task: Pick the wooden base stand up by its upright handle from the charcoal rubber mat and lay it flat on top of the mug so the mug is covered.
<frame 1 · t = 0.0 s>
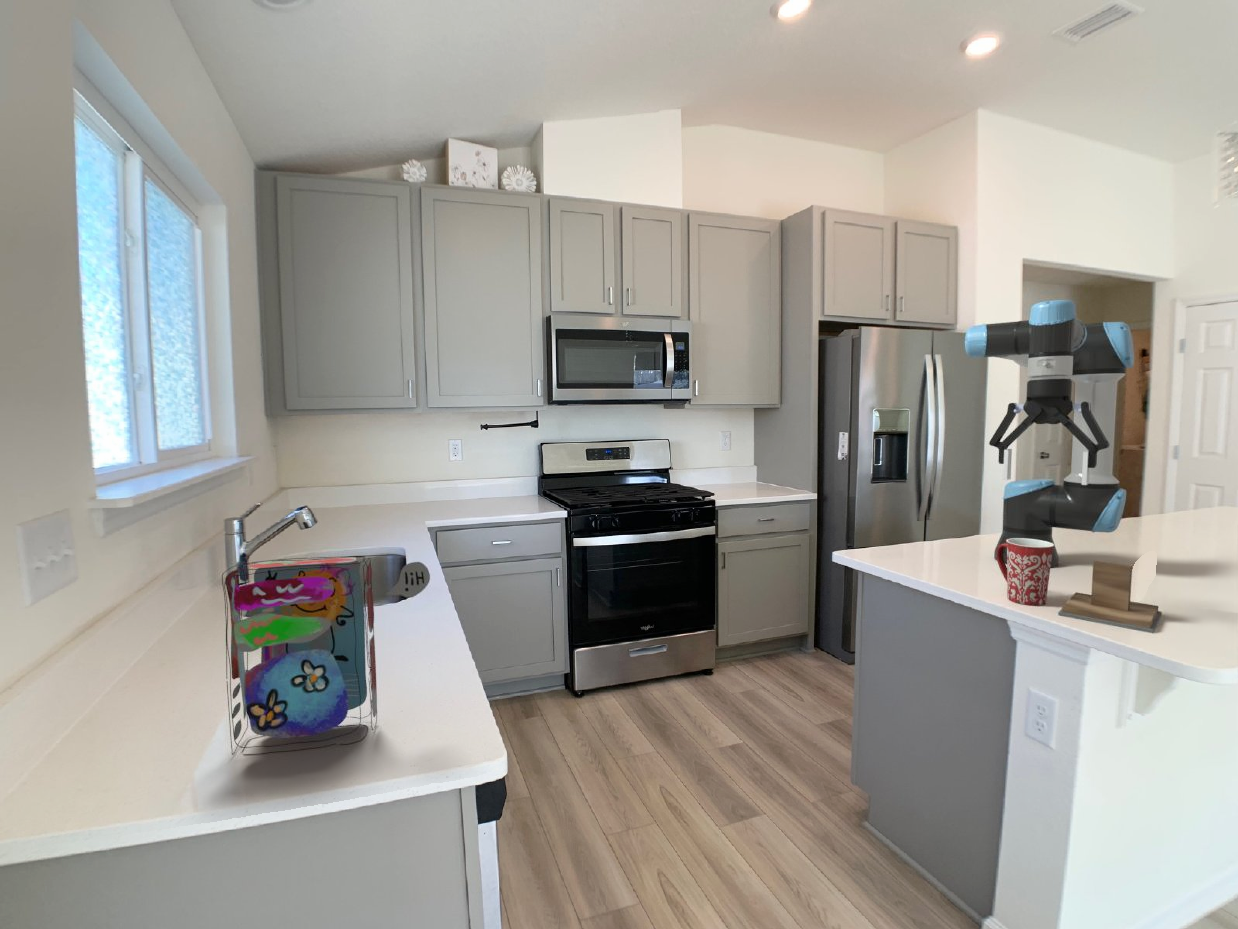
hand: (1044, 482, 126), 28 cm above the worktop, tool pointing down, fingers open, 13 cm apart
mug: (1020, 599, 139), on the worktop
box: (341, 735, 84), on the worktop
wooden base stand: (1109, 611, 127), point 1 cm above the worktop, touching mat
mat: (1109, 614, 127), on the worktop
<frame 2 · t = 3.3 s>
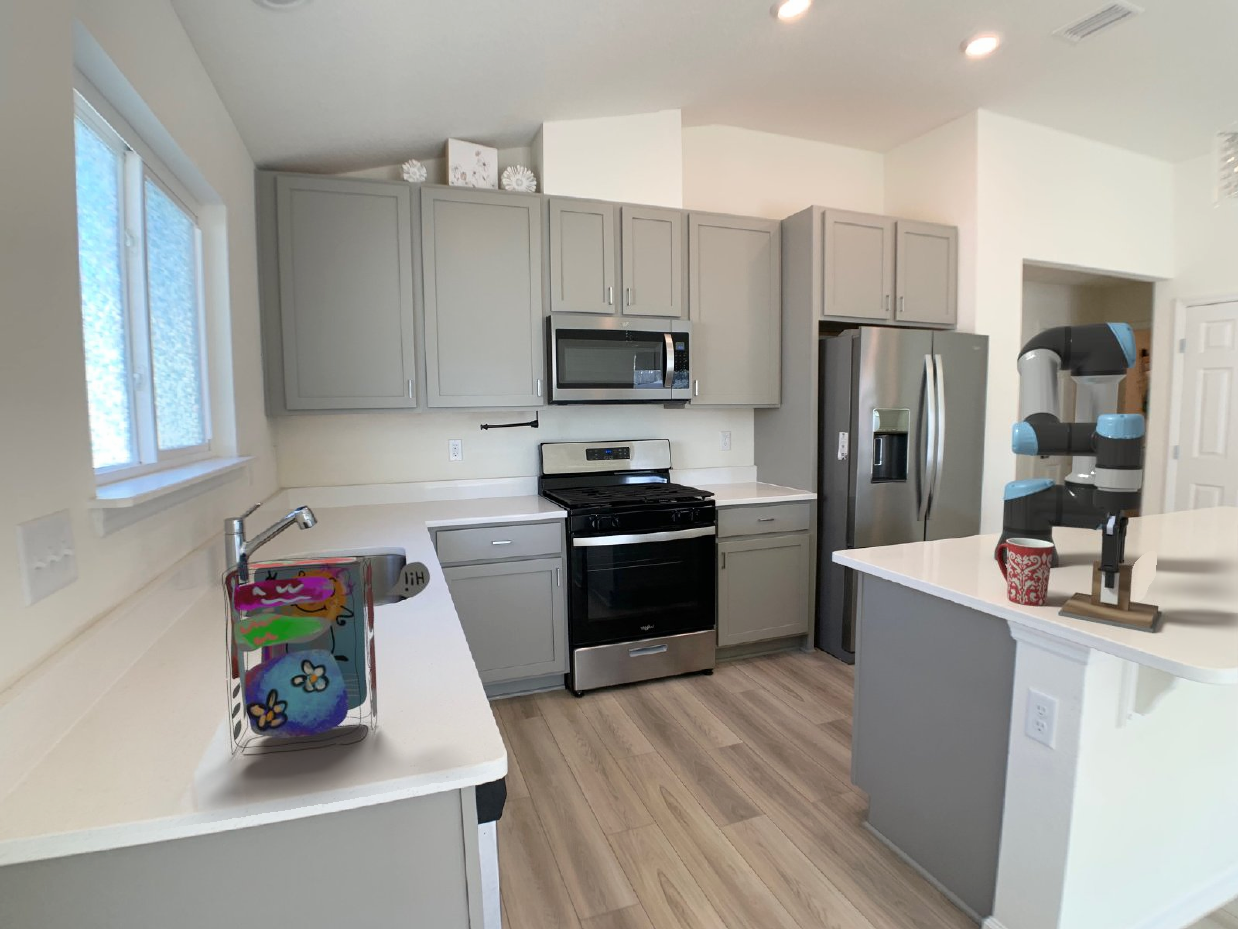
hand: (1110, 600, 127), 3 cm above the worktop, tool pointing down, fingers closed on wooden base stand, 3 cm apart
wooden base stand: (1109, 611, 127), point 1 cm above the worktop, touching gripper, mat
everything else where it was.
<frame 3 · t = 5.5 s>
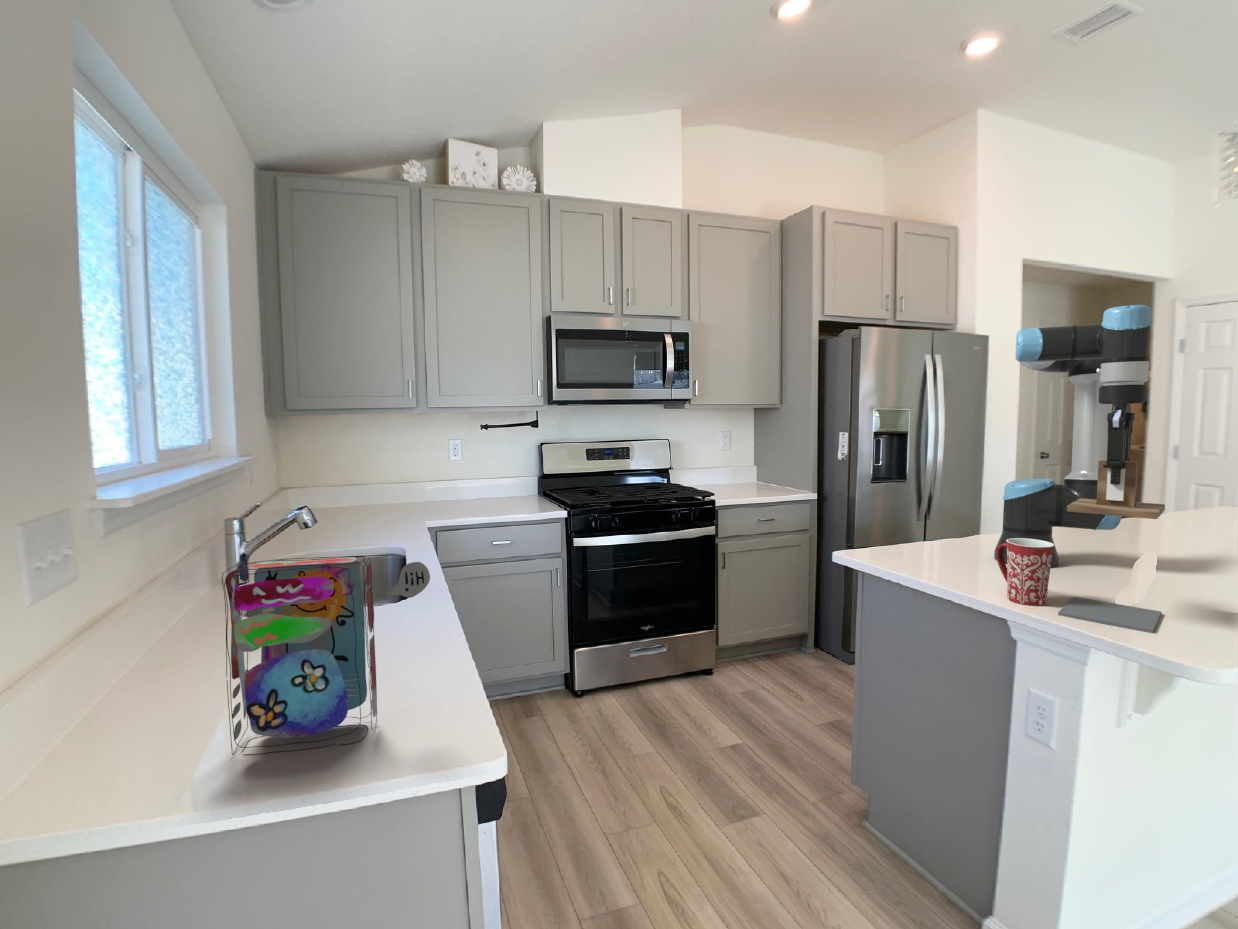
hand: (1116, 498, 125), 24 cm above the worktop, tool pointing down, fingers closed on wooden base stand, 3 cm apart
wooden base stand: (1115, 510, 126), point 22 cm above the worktop, touching gripper
everything else where it was.
when the fingers open (17 cm above the worktop, at t = 8.1 s): wooden base stand drops 1 cm, resting on mug.
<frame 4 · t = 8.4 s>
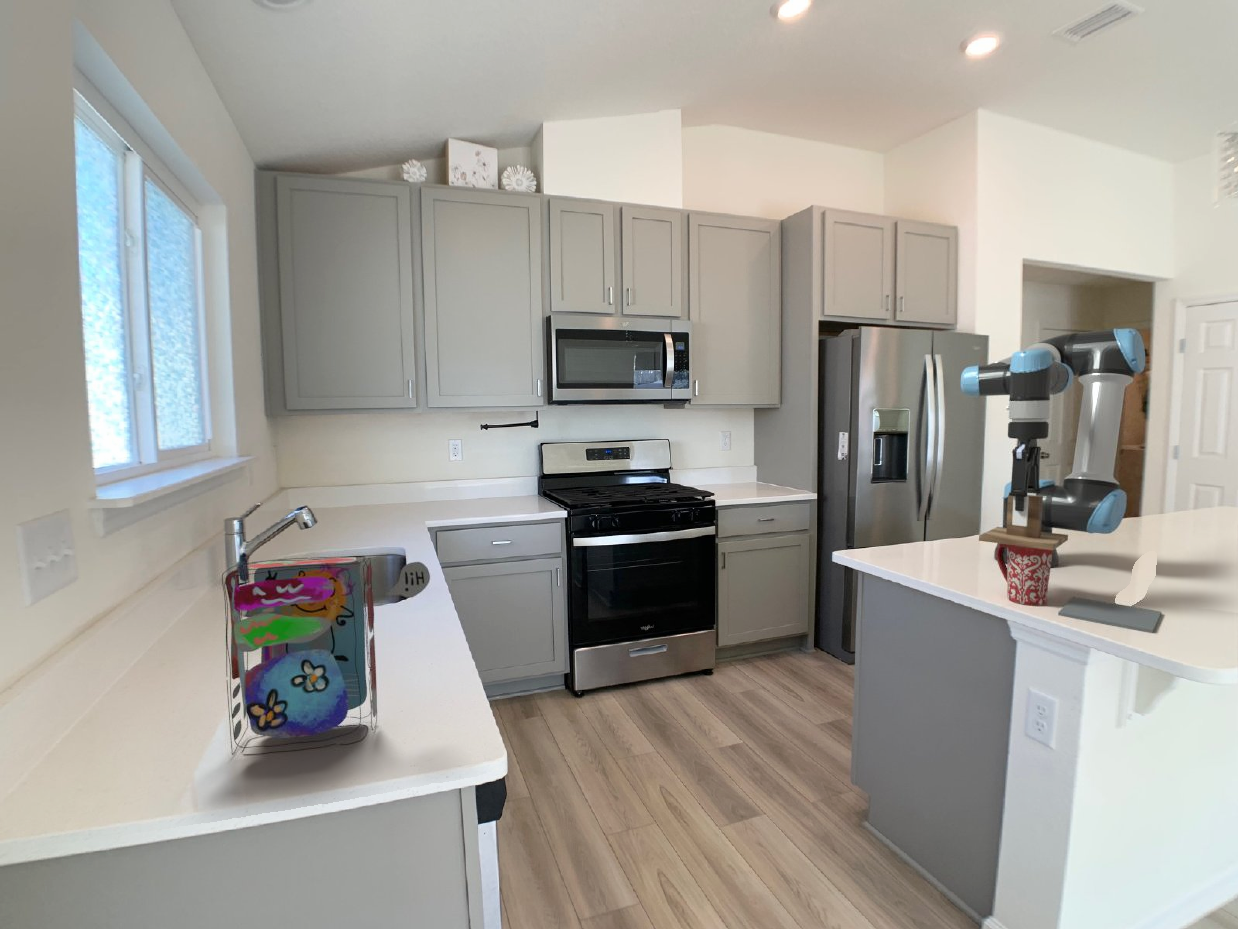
hand: (1023, 523, 137), 17 cm above the worktop, tool pointing down, fingers open, 6 cm apart
mug: (1020, 599, 139), on the worktop, touching wooden base stand
wooden base stand: (1023, 540, 138), point 13 cm above the worktop, touching mug
everything else where it was.
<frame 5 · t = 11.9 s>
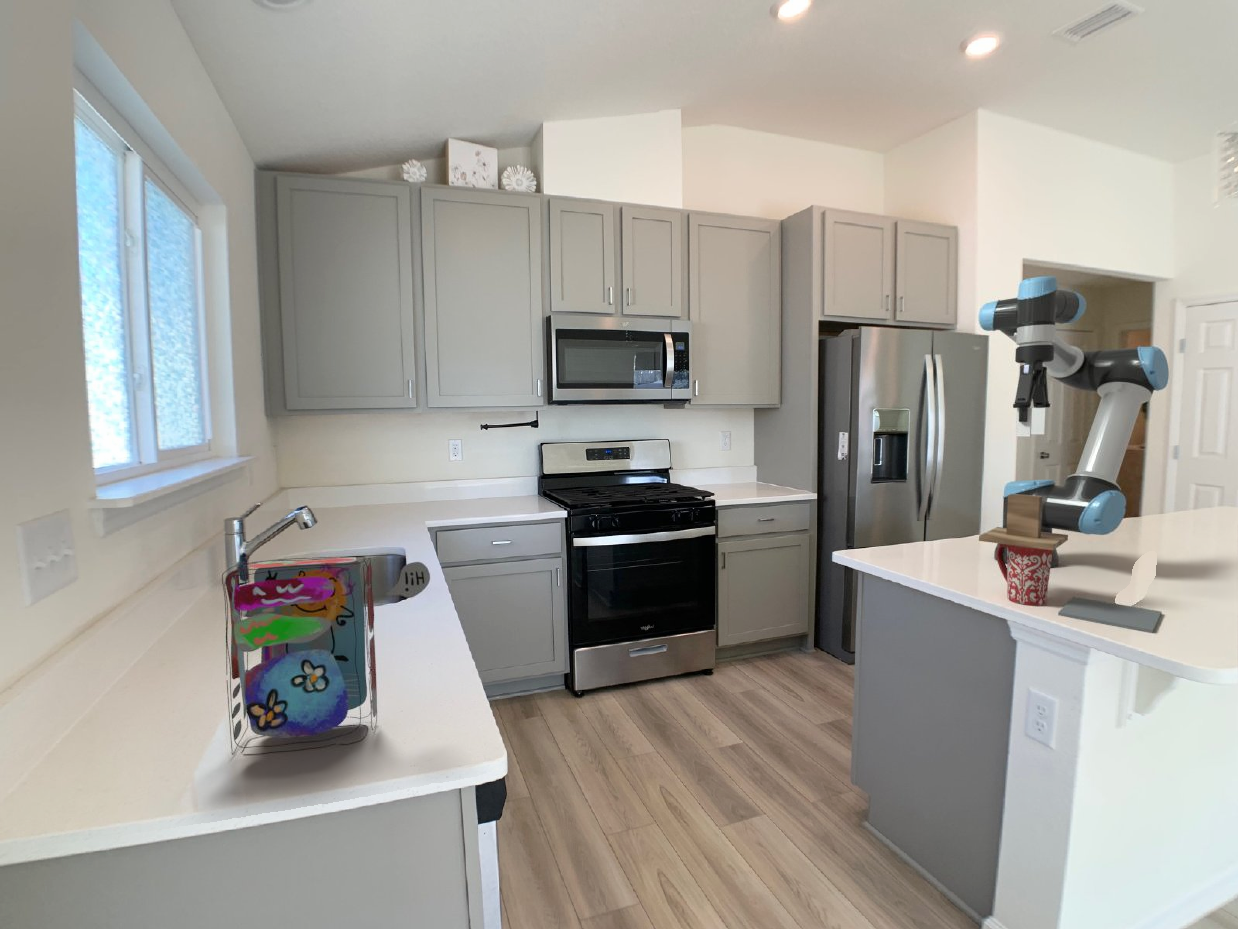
hand: (1030, 435, 145), 37 cm above the worktop, tool pointing down, fingers open, 13 cm apart
nothing on the worktop moved.
at the end: wooden base stand 0.0 cm off-centre on the mug, point 13.7 cm above the mug's base; wooden base stand tilted 0°; mug tilted 0° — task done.
